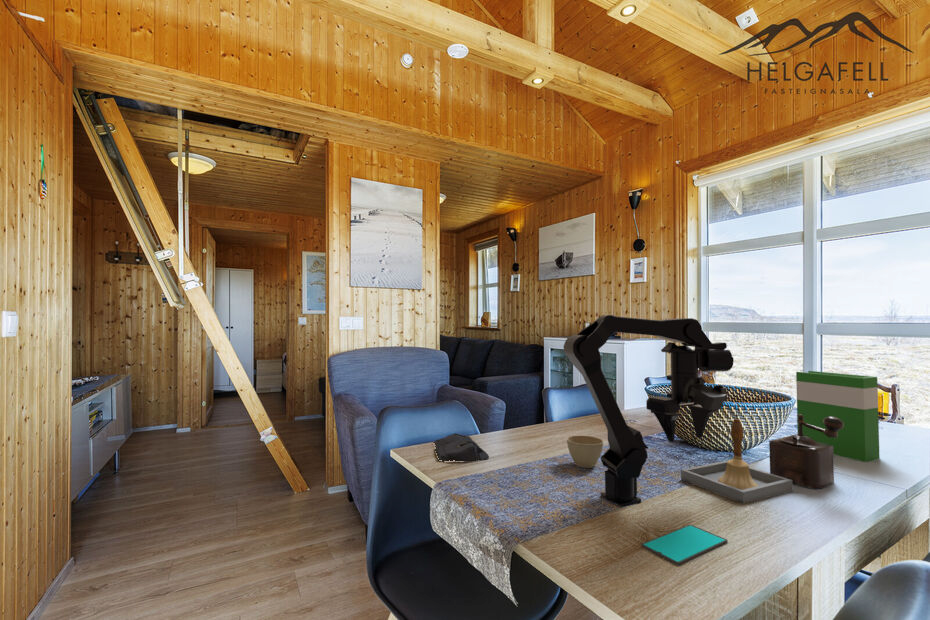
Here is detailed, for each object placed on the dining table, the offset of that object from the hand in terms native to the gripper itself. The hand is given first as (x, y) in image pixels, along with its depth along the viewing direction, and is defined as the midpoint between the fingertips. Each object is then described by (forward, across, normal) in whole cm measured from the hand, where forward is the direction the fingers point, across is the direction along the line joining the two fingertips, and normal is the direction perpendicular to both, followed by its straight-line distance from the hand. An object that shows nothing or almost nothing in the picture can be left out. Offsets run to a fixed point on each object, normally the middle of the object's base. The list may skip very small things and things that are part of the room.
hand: (685, 439), depth 100 cm
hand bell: (+13, +16, -1) cm, 21 cm away
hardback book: (+13, +72, +5) cm, 73 cm away
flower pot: (+13, -7, +27) cm, 31 cm away
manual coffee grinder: (+13, +36, -7) cm, 39 cm away
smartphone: (+14, -19, -15) cm, 28 cm away
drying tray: (+13, +17, 0) cm, 21 cm away
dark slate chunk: (+14, -34, +54) cm, 65 cm away
